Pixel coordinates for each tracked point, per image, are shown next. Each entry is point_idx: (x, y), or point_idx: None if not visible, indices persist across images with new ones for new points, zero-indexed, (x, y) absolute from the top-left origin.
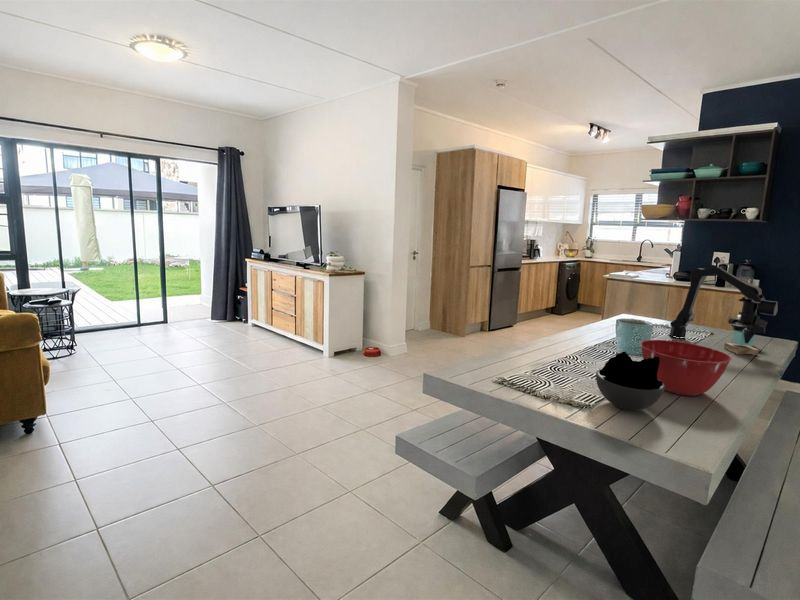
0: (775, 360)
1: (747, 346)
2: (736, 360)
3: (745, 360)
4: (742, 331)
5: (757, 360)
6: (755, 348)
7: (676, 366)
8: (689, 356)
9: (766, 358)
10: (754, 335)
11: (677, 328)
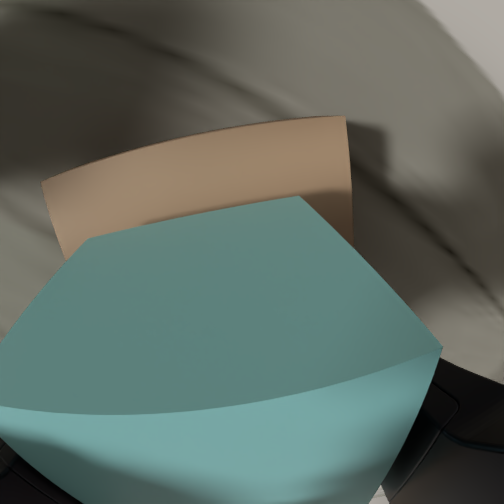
0: (421, 37)
1: (176, 204)
2: (465, 349)
3: (469, 306)
4: (120, 502)
5: (467, 221)
6: (264, 125)
7: None
8: None
9: (389, 80)
10: (414, 325)
11: None
